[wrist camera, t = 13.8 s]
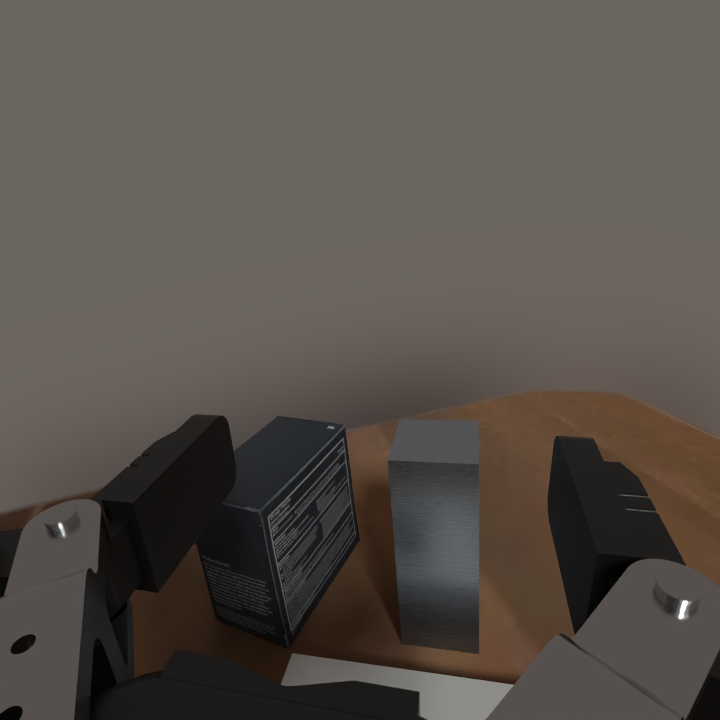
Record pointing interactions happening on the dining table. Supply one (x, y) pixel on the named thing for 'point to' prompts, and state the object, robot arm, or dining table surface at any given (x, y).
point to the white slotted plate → (405, 685)
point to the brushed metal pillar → (436, 532)
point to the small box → (281, 528)
